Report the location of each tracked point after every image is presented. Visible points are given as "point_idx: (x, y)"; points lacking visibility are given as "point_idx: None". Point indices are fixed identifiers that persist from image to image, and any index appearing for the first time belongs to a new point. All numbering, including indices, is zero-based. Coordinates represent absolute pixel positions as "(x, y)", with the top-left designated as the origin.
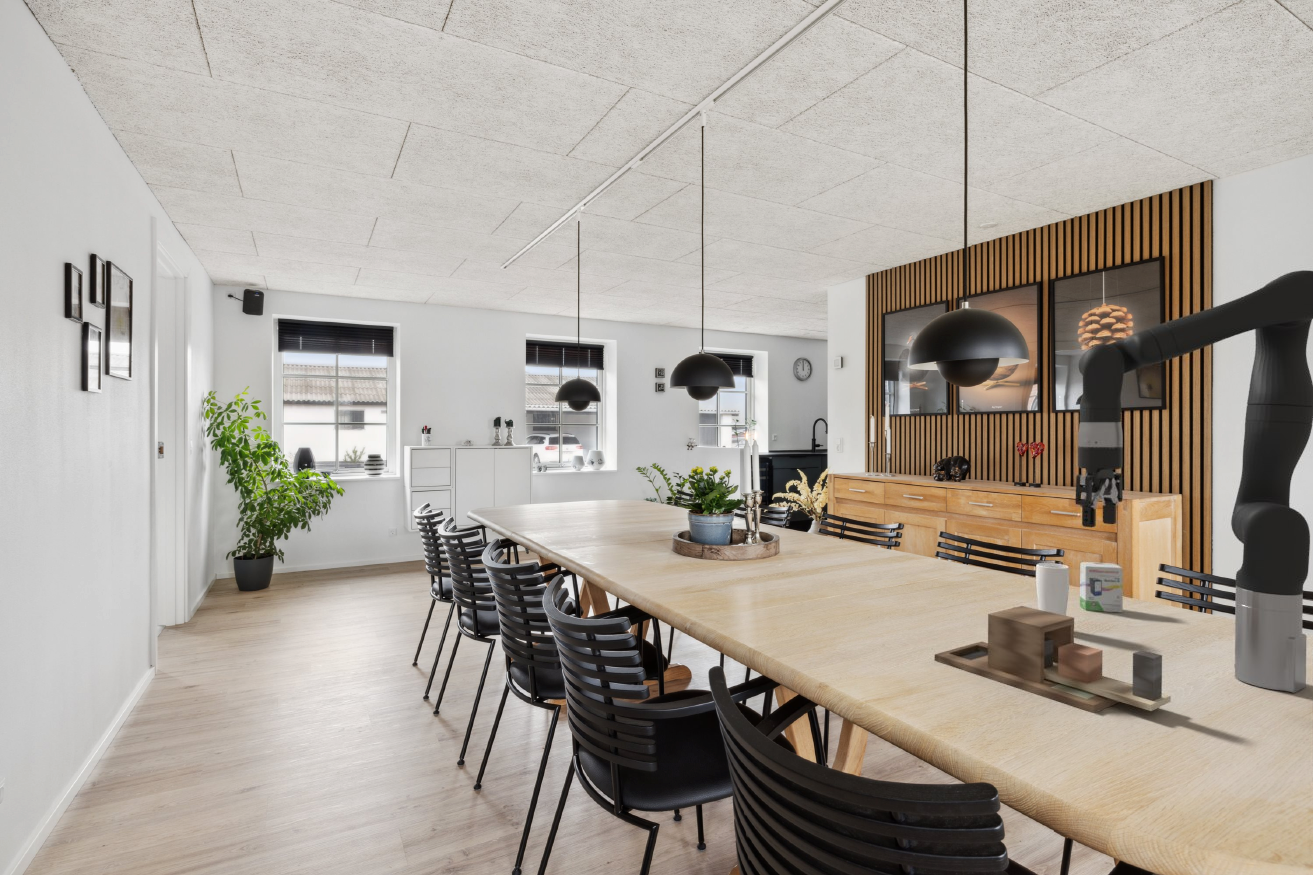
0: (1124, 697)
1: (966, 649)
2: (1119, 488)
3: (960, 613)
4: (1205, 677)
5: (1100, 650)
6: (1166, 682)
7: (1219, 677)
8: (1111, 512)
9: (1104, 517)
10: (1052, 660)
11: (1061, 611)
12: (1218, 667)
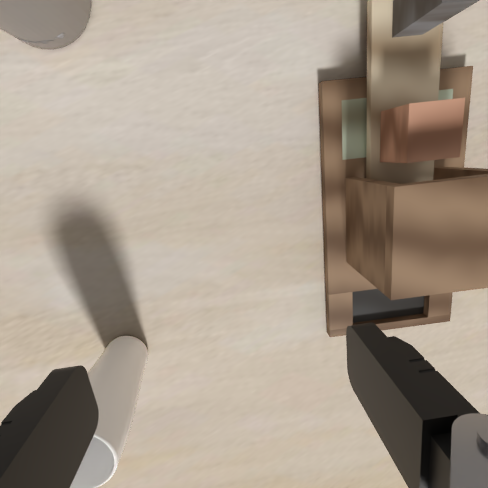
0: (441, 37)
1: (380, 322)
2: None
3: (195, 461)
4: (129, 71)
5: (414, 104)
6: (223, 91)
7: (103, 58)
8: (45, 446)
9: (83, 444)
10: None
11: (120, 356)
12: (43, 90)
